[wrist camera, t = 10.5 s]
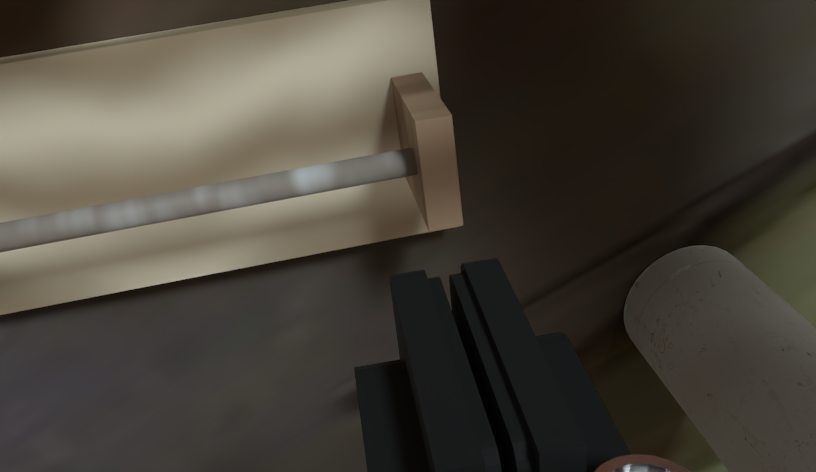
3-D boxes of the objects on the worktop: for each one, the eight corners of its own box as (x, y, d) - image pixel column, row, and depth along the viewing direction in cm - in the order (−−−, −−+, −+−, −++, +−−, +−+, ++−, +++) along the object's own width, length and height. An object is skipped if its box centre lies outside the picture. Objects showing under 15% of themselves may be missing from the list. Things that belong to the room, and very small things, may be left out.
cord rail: (-352, 115, 33) (-534, 195, 25) (422, -12, 36) (465, 26, 28) (-209, 341, 38) (-323, 460, 31) (448, 214, 41) (489, 296, 34)
